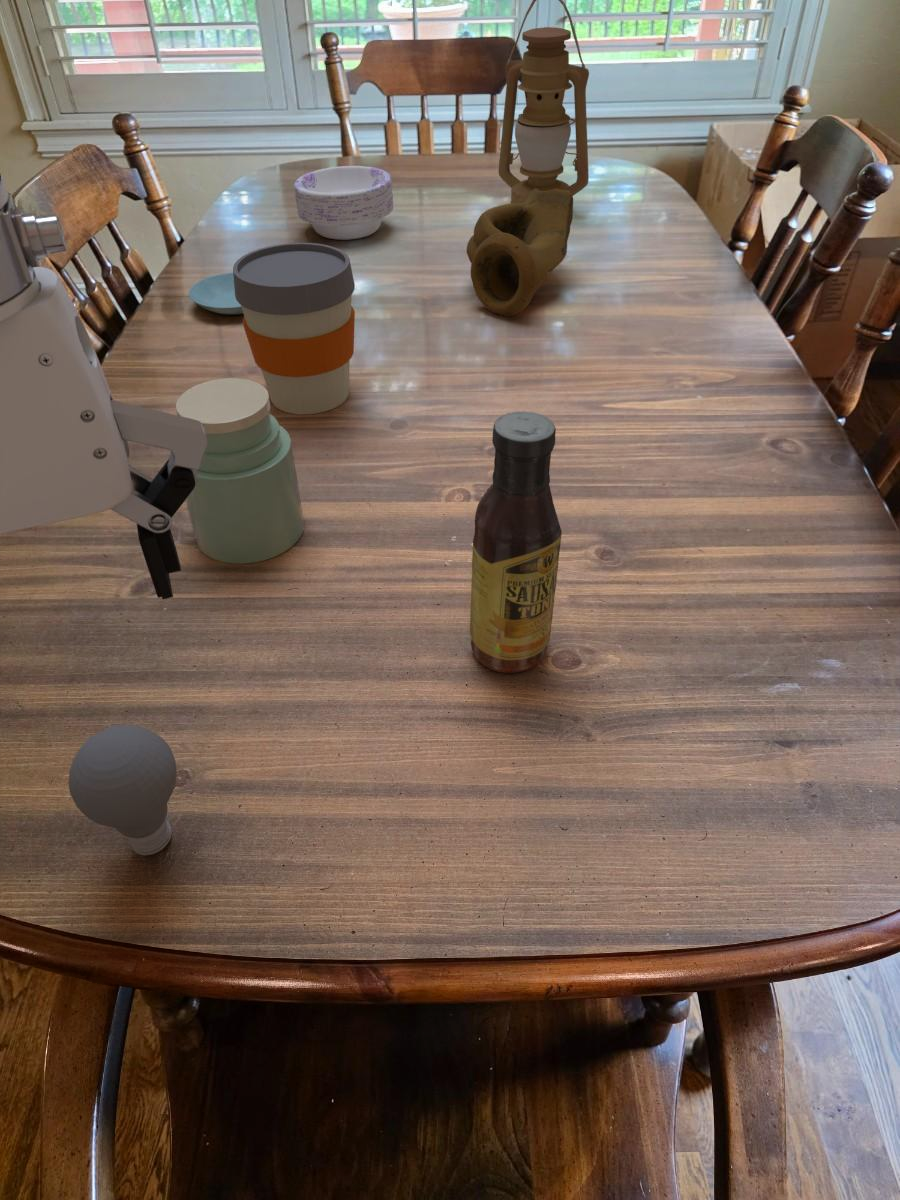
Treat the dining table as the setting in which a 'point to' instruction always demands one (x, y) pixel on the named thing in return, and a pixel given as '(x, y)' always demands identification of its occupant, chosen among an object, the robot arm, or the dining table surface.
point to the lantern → (544, 113)
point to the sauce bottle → (515, 548)
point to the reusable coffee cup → (299, 322)
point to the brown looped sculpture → (519, 248)
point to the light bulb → (126, 784)
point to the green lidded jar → (242, 474)
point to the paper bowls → (344, 200)
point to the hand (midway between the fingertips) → (66, 604)
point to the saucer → (217, 294)
